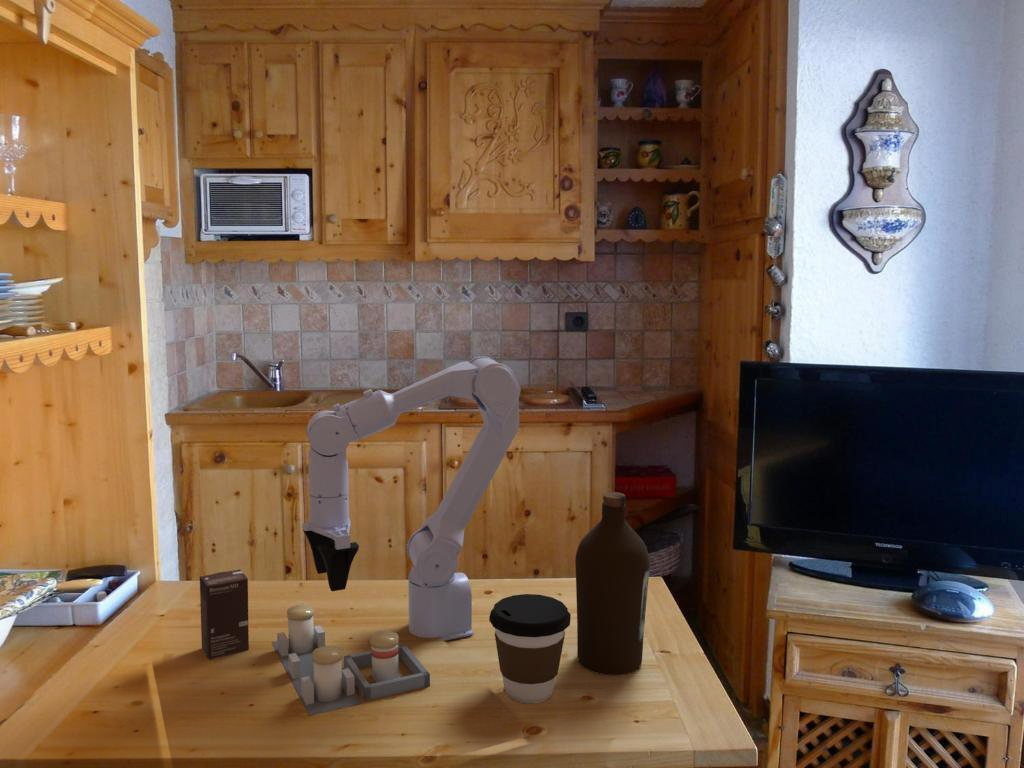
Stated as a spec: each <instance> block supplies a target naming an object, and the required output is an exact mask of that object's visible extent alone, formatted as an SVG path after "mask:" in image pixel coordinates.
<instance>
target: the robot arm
mask: <svg viewBox="0 0 1024 768" xmlns="http://www.w3.org/2000/svg"><path fill="white" fill-rule="evenodd" d="M521 391H522V389H521V386H520V384H519V382H518V380H517V377H516V376H515V373H514V372H513V370H512V369H511V368H510V367H509V366H507V365H505V364H503V363H501V362H500V363H499V362H497V361H496V360H494V359H493V358H491V357H488V356H477V357H474V358H472V359H470V360H469V361H467V360H466V361H461V362H458V363H456V364H453V365H451V366H449V367H446V368H445V369H443V370H441V371H438V372H435V373H434V374H432V375H430V376H428V377H425V378H423V379H421V380H419V381H417V382H415V383H412V384H410V385H408V386H406V387H404V388H401V389H399V390H397V391H395V392H393V393H389V392H387V391H384V390H381V389H378V390H376V391H374V392H373V390H372V389H367V390H365V391H363V392H362V394H363V396H361V397H359V398H356V399H354V400H352V401H348V402H347V403H345V404H344V403H343V404H342V405H340V403H336V404H333V405H332V408H333V410H321V411H318V412H316V413H315V414H314V415H312V417H311V418H310V419H309V421H308V422H307V426H306V427H307V428H305V433H306V437H307V439H308V442H309V451H308V458H309V461H308V496H309V497H308V498H309V499H308V500H309V501H308V503H309V504H308V505H309V521H307V522H302V523H301V529H302V531H303V533H304V534H305V537H306V538H307V540H308V543H309V547H310V550H311V554H312V557H313V562H314V566H315V570H316V573H317V574H318V575H320V574H321V575H322V574H326V577H327V583H328V587H329V589H330V591H331V592H337V591H342V590H343V591H344V590H346V588H347V584H348V580H349V574H350V570H351V567H352V564H353V561H354V559H355V557H356V555H357V553H358V551H359V548H360V545H359V544H358V543H357V542H356V541H352V542H351V534H350V531H351V519H350V498H349V497H350V494H349V492H350V491H349V490H350V489H349V487H350V484H349V461H348V460H347V449H348V446H349V445H350V443H351V442H353V443H355V442H358V441H360V440H363V439H365V438H367V437H370V436H373V435H375V434H377V433H379V432H382V431H384V430H386V429H388V428H389V429H390V428H392V427H394V426H395V425H396V424H397V420H398V418H399V416H400V415H401V414H404V413H407V412H409V411H412V410H414V409H416V408H419V407H420V408H421V407H423V406H425V405H428V404H430V403H433V402H435V401H438V400H441V399H443V398H447V397H450V396H451V397H452V396H453V397H457V398H462V399H468V400H474V401H475V403H476V404H477V407H478V410H479V413H480V416H481V420H482V422H483V424H482V426H481V428H480V430H479V432H478V434H476V437H475V439H474V441H473V442H472V444H471V446H470V448H469V450H468V451H467V454H466V455H465V457H464V460H463V461H462V463H461V465H460V466H459V468H458V470H457V472H456V474H455V475H454V478H453V480H452V481H451V483H450V485H449V487H448V488H447V490H446V493H445V494H444V496H443V498H442V499H441V502H440V503H439V506H438V507H437V509H436V511H435V512H433V513H432V514H431V515H430V516H428V517H427V518H426V520H425V522H424V524H423V525H422V526H421V527H420V528H419V529H417V530H416V531H414V532H413V534H412V535H411V536H410V537H409V540H408V542H407V546H406V550H407V551H406V552H407V554H408V557H409V559H410V560H411V561H412V564H413V566H412V568H411V570H410V571H409V573H408V577H407V578H408V583H407V585H408V587H407V588H408V589H407V590H408V632H409V633H410V634H412V635H413V636H416V637H419V638H423V639H437V638H441V639H442V640H443V641H445V642H447V641H449V640H455V639H459V638H464V637H470V636H473V635H474V630H472V628H473V626H472V625H473V624H472V621H473V620H472V619H473V618H472V617H473V616H472V615H473V614H472V612H473V611H472V609H473V608H472V607H473V605H472V604H473V603H472V602H473V601H472V600H473V597H472V596H473V594H472V587H471V583H470V581H469V578H468V576H467V575H466V574H465V573H464V572H457V569H458V558H459V554H460V552H461V550H462V548H463V545H464V536H465V529H466V527H467V526H468V523H469V522H470V520H471V518H472V516H473V514H474V512H475V511H476V509H477V507H478V505H479V503H480V502H481V500H482V498H483V496H484V494H485V492H486V490H487V489H488V486H489V485H490V483H491V481H492V479H493V478H494V475H495V473H496V472H497V470H498V468H499V466H500V465H501V463H502V461H503V459H504V457H505V455H506V453H507V452H508V450H509V448H510V446H511V445H512V443H513V442H514V439H515V438H516V435H517V433H518V432H519V431H518V430H519V428H520V400H519V399H520V395H521Z"/></svg>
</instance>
